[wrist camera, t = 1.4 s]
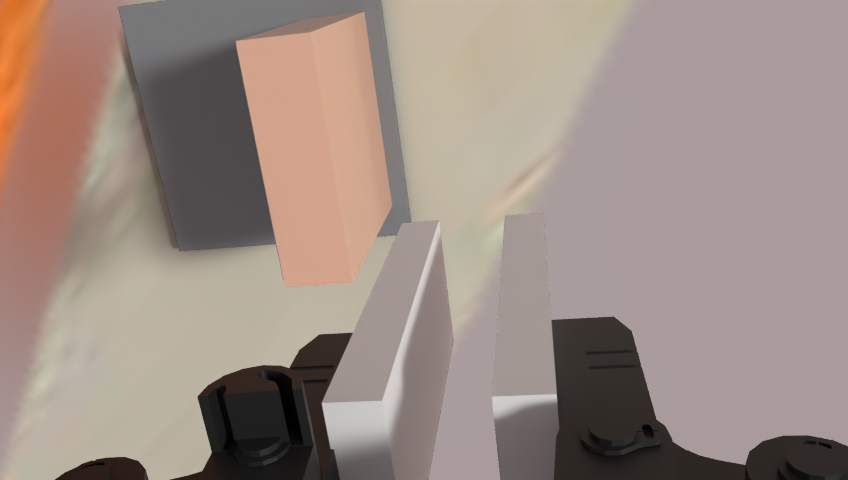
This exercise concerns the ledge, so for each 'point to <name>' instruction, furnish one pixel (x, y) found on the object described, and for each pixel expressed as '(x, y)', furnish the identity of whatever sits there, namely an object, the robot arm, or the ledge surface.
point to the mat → (231, 111)
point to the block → (318, 144)
